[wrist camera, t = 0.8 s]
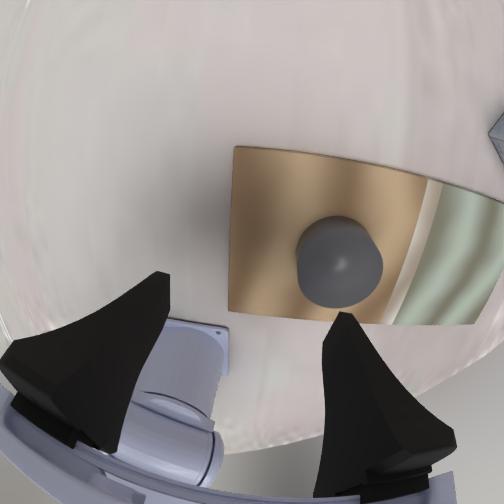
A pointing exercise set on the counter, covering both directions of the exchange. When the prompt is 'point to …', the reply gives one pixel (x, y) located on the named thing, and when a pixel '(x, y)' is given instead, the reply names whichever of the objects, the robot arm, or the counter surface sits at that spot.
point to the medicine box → (498, 137)
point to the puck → (337, 262)
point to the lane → (379, 228)
